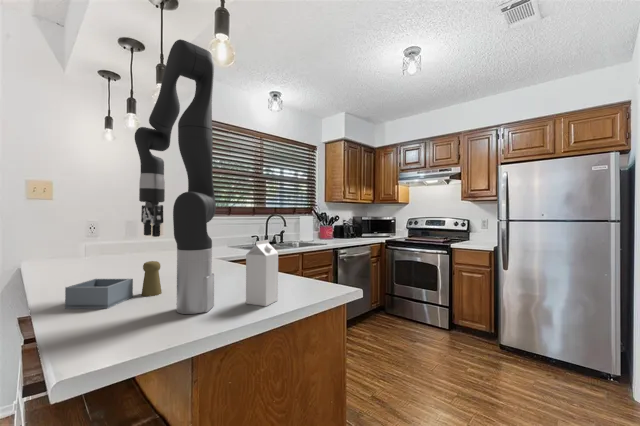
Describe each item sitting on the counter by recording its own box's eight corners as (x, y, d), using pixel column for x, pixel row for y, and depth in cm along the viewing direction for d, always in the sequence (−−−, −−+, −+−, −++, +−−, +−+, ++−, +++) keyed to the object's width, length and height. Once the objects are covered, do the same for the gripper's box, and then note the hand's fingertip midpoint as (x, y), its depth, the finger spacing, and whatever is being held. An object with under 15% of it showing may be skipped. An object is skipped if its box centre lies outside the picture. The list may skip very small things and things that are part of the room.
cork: (152, 296, 100) (153, 263, 100) (136, 295, 101) (137, 262, 101) (165, 292, 106) (165, 260, 106) (150, 291, 107) (150, 259, 107)
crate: (132, 297, 100) (132, 278, 100) (107, 308, 88) (107, 287, 88) (95, 297, 99) (95, 278, 99) (65, 308, 87) (65, 287, 87)
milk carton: (245, 304, 92) (246, 241, 93) (258, 298, 99) (259, 239, 99) (265, 306, 90) (266, 242, 90) (278, 300, 96) (278, 240, 96)
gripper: (171, 187, 102) (171, 236, 101) (156, 189, 111) (156, 234, 111) (147, 186, 96) (146, 237, 96) (133, 188, 106) (132, 235, 106)
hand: (151, 235), depth 104 cm, fingers open, 8 cm apart
